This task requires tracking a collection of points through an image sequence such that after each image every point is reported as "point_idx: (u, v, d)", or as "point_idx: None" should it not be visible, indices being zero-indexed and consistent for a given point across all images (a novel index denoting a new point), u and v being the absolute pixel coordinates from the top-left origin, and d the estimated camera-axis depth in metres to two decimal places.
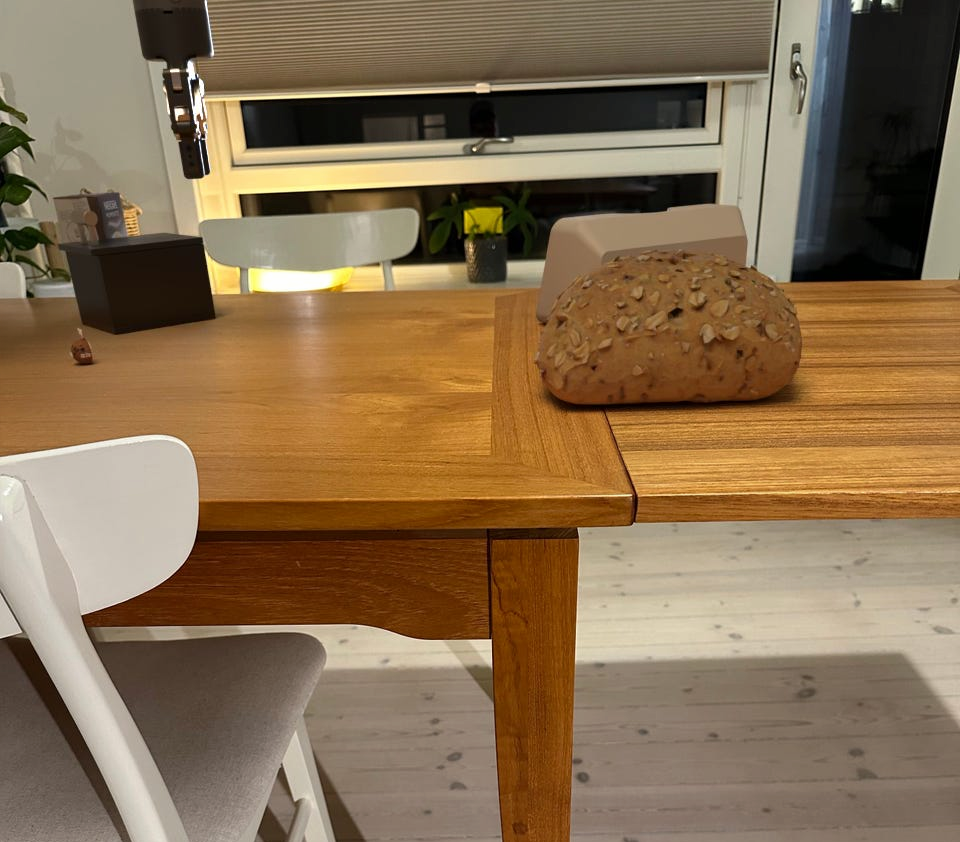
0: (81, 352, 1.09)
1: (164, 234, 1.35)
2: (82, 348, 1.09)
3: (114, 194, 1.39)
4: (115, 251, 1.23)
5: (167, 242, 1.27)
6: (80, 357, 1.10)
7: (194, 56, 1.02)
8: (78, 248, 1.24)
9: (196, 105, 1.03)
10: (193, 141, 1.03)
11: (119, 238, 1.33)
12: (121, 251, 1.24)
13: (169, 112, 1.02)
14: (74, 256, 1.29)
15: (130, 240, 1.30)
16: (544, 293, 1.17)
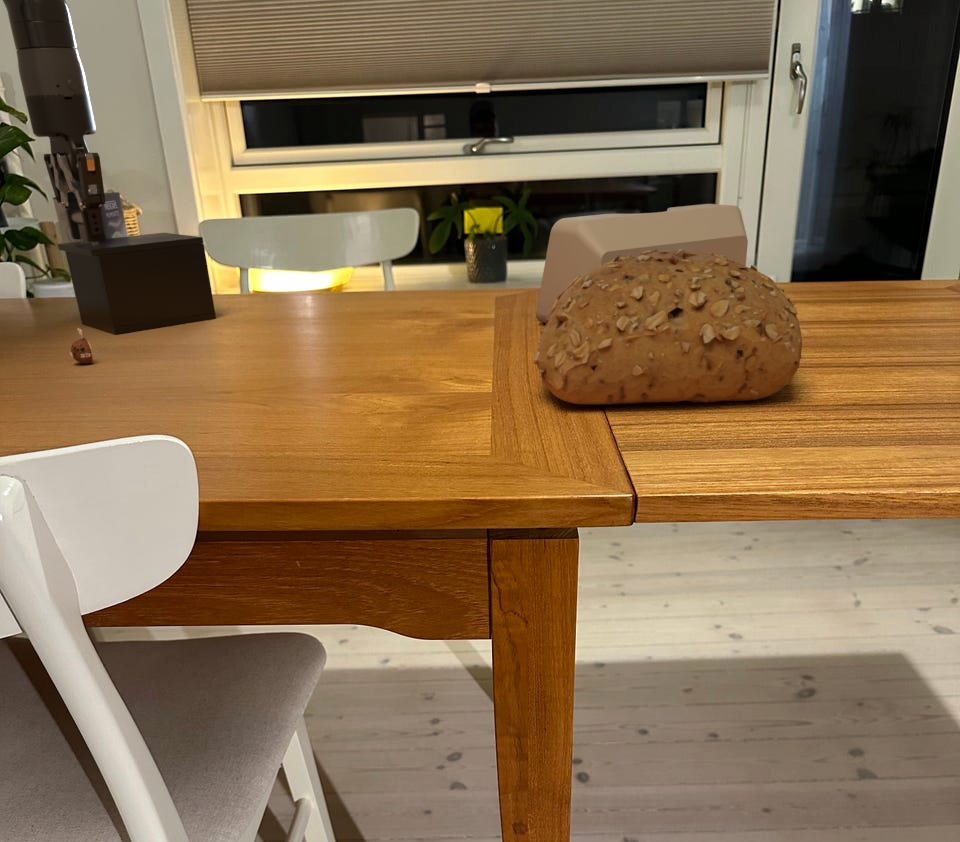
0: (81, 352, 1.09)
1: (164, 234, 1.35)
2: (82, 348, 1.09)
3: (114, 194, 1.39)
4: (115, 251, 1.23)
5: (167, 242, 1.27)
6: (81, 357, 1.10)
7: (86, 133, 1.20)
8: (78, 248, 1.24)
9: None
10: (97, 210, 1.22)
11: (119, 238, 1.33)
12: (121, 251, 1.24)
13: (73, 186, 1.20)
14: (74, 256, 1.29)
15: (130, 240, 1.30)
16: (544, 293, 1.17)
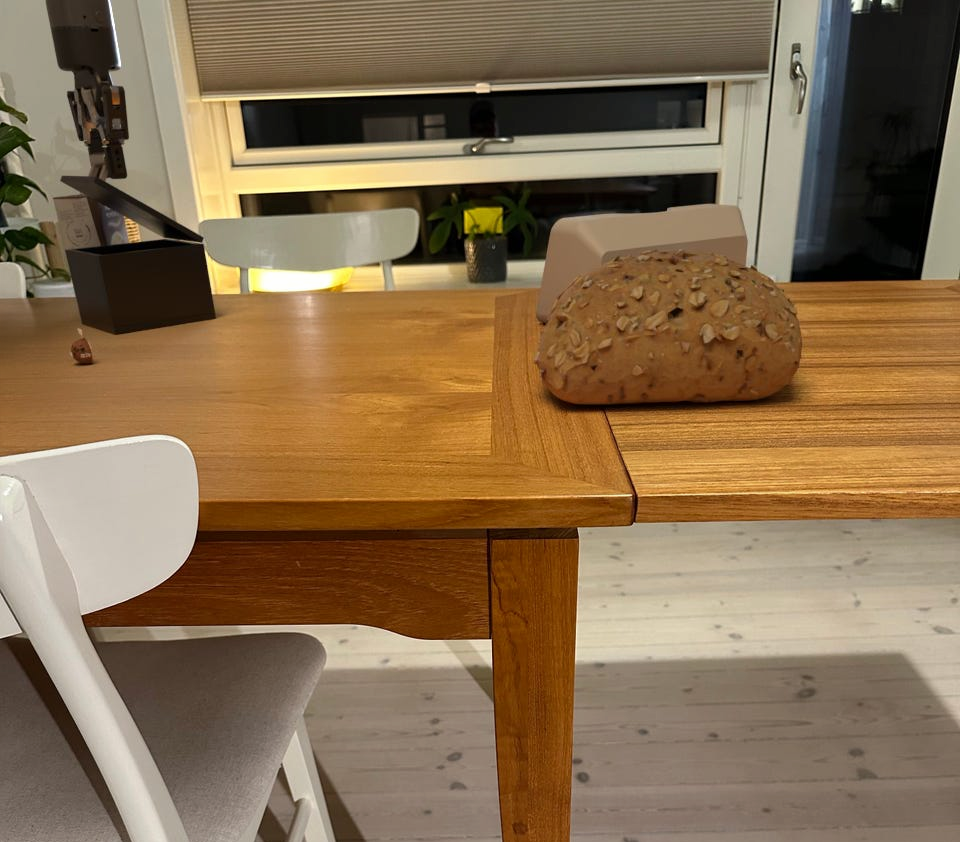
0: (81, 352, 1.09)
1: None
2: (82, 348, 1.09)
3: None
4: (118, 193, 1.21)
5: (170, 219, 1.26)
6: (81, 357, 1.10)
7: (111, 68, 1.19)
8: (82, 176, 1.22)
9: None
10: (120, 147, 1.21)
11: None
12: (123, 197, 1.22)
13: (96, 120, 1.19)
14: (74, 256, 1.29)
15: None
16: (544, 293, 1.17)
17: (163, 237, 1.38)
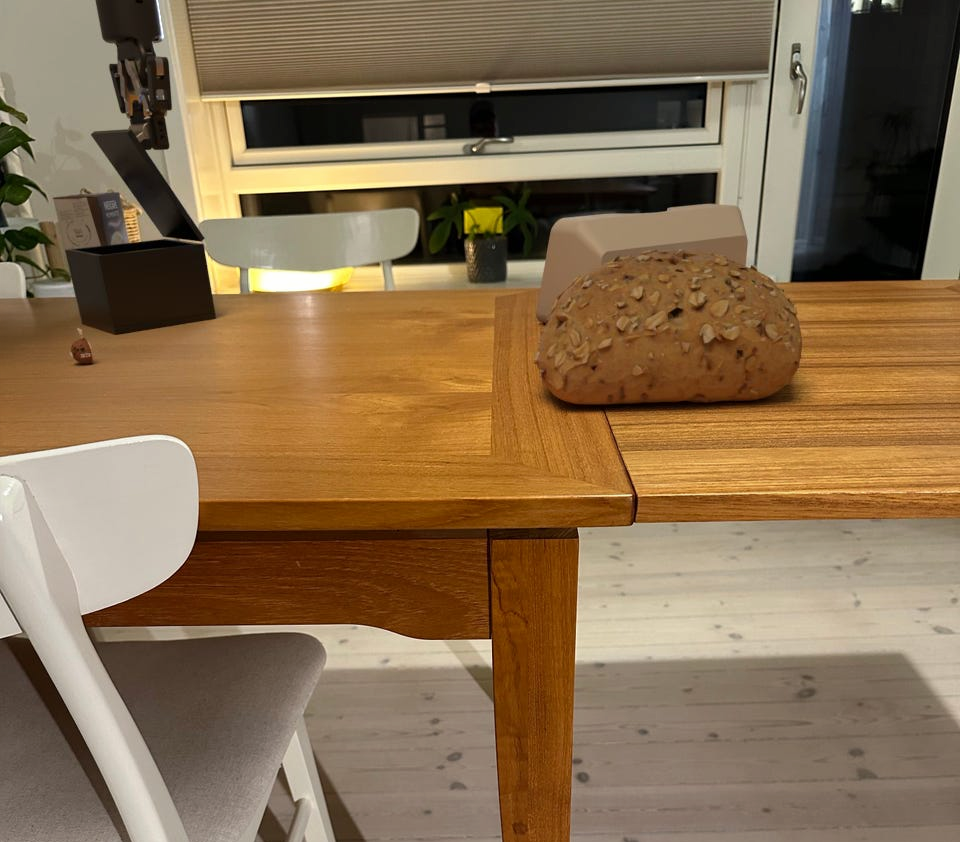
0: (81, 352, 1.09)
1: None
2: (82, 348, 1.09)
3: (114, 194, 1.39)
4: (143, 154, 1.21)
5: (181, 204, 1.26)
6: (80, 357, 1.10)
7: (154, 39, 1.21)
8: (116, 130, 1.22)
9: None
10: (163, 117, 1.24)
11: None
12: (147, 161, 1.22)
13: (140, 92, 1.21)
14: (74, 256, 1.29)
15: None
16: (544, 293, 1.17)
17: None
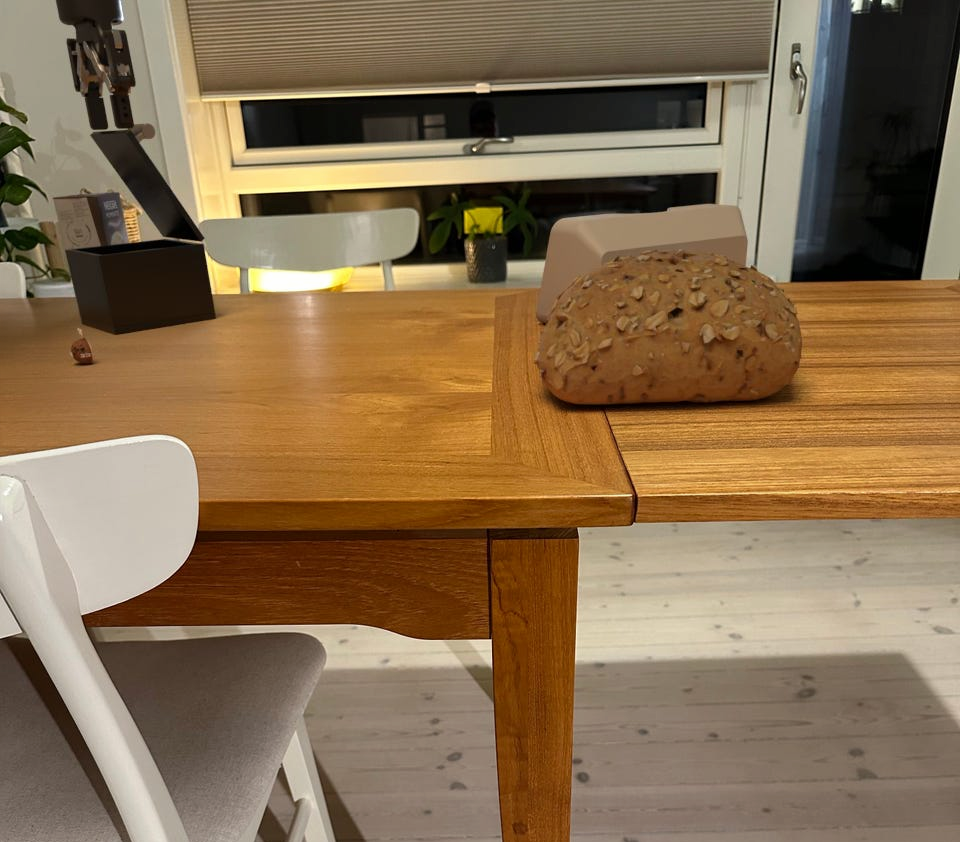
0: (81, 352, 1.09)
1: None
2: (82, 348, 1.09)
3: (114, 194, 1.39)
4: (143, 155, 1.21)
5: (180, 205, 1.26)
6: (81, 357, 1.10)
7: (114, 21, 1.17)
8: (116, 130, 1.22)
9: (121, 64, 1.18)
10: (127, 94, 1.18)
11: None
12: (146, 161, 1.22)
13: (101, 68, 1.17)
14: (74, 256, 1.29)
15: None
16: (544, 293, 1.17)
17: None
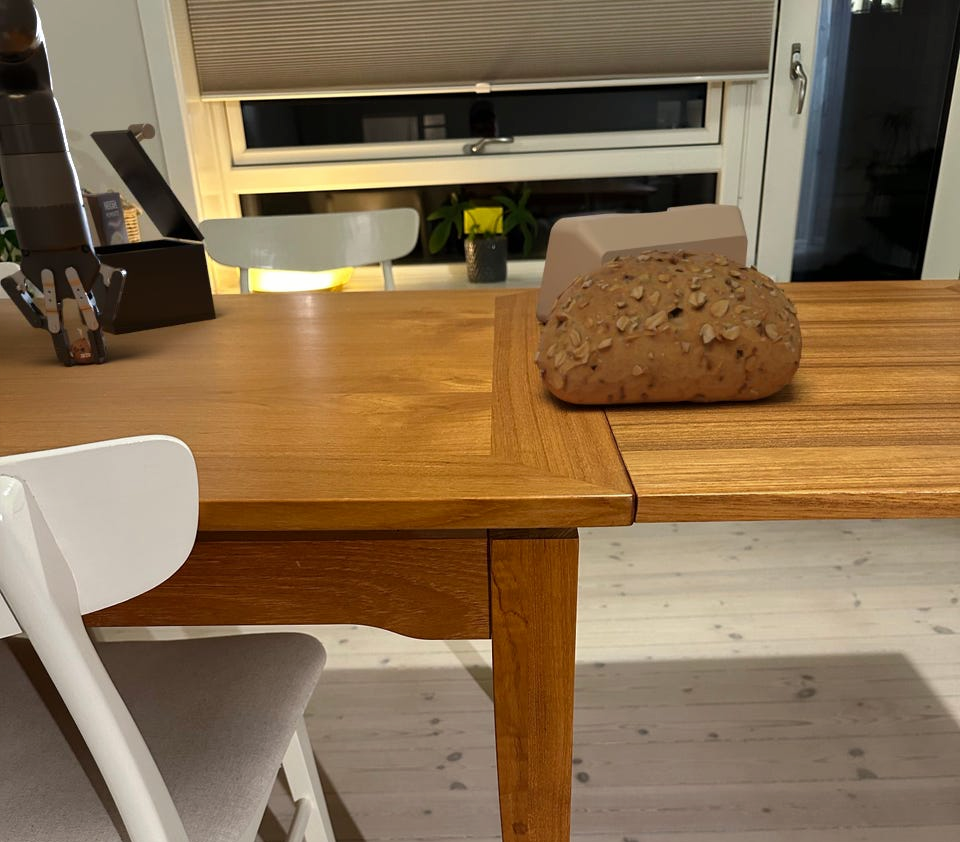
0: (80, 352, 1.09)
1: None
2: (82, 348, 1.09)
3: (114, 194, 1.39)
4: (143, 155, 1.21)
5: (180, 205, 1.26)
6: (80, 357, 1.10)
7: None
8: (116, 130, 1.22)
9: (92, 294, 1.09)
10: None
11: None
12: (146, 161, 1.22)
13: (90, 304, 1.07)
14: None
15: None
16: (544, 293, 1.17)
17: None
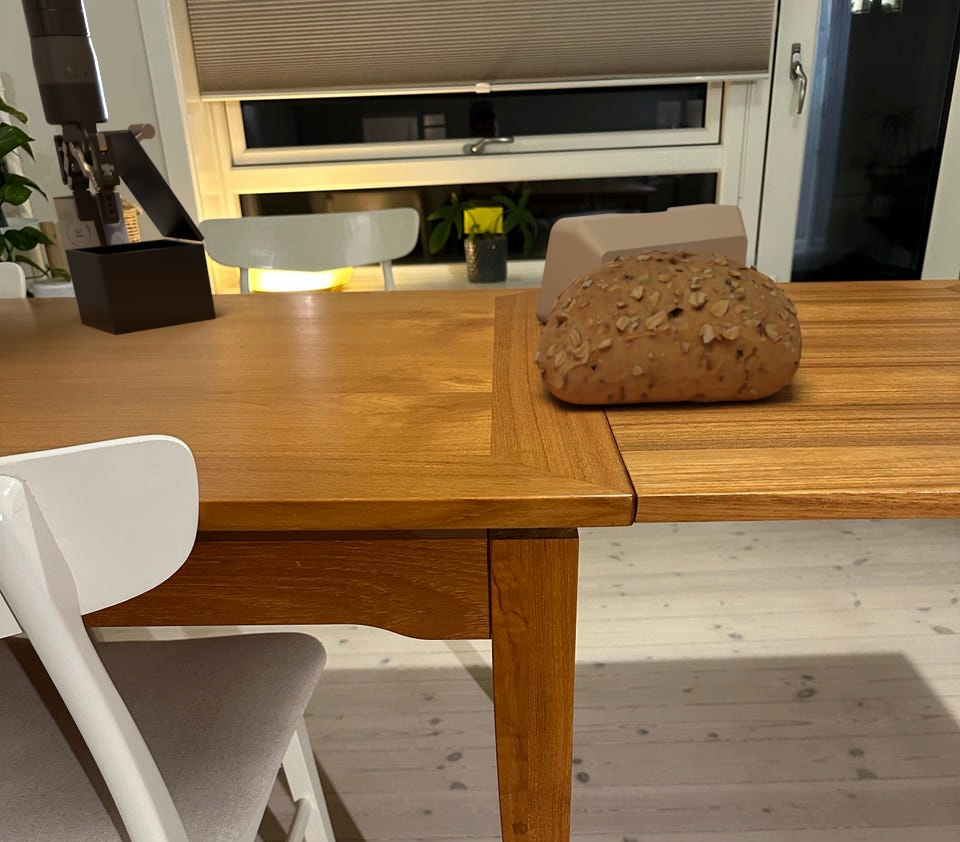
0: None
1: None
2: None
3: None
4: (143, 155, 1.21)
5: (180, 205, 1.26)
6: None
7: None
8: (116, 130, 1.22)
9: None
10: None
11: None
12: (146, 161, 1.22)
13: None
14: (74, 256, 1.29)
15: None
16: (544, 293, 1.17)
17: None
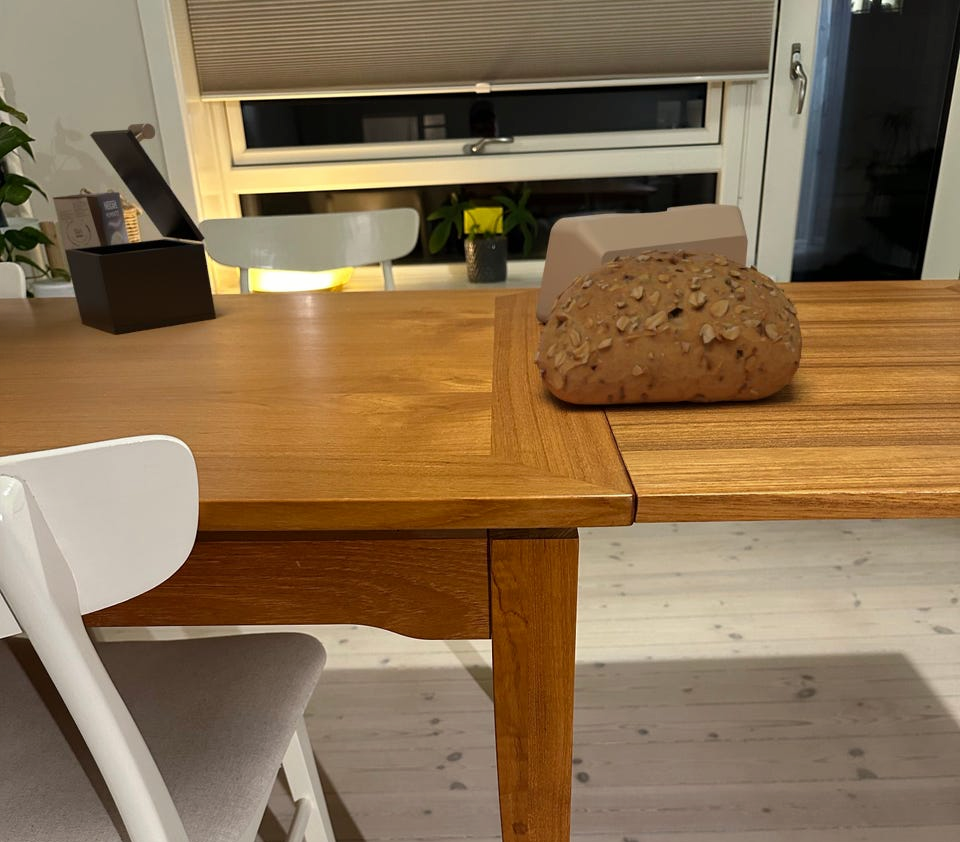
0: None
1: None
2: None
3: (114, 194, 1.39)
4: (143, 155, 1.21)
5: (180, 205, 1.26)
6: None
7: None
8: (116, 130, 1.22)
9: None
10: None
11: None
12: (146, 161, 1.22)
13: None
14: (74, 256, 1.29)
15: None
16: (544, 293, 1.17)
17: None
